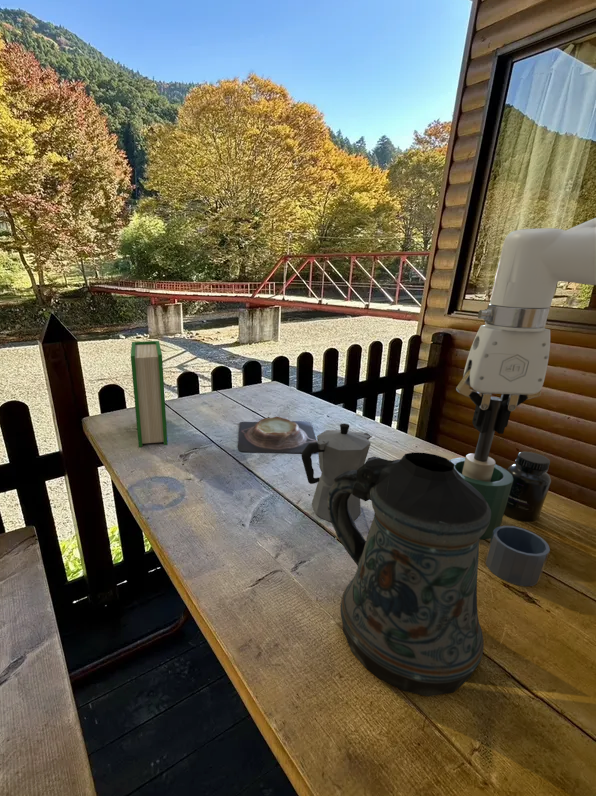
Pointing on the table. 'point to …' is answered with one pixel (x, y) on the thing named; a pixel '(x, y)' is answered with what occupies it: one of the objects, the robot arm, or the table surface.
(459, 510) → the beer stein
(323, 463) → the coffeepot
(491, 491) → the jar
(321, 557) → the table surface
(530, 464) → the supplement bottle
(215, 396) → the table surface
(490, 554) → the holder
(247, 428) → the quiche
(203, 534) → the table surface
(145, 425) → the hardback book
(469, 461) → the brush
